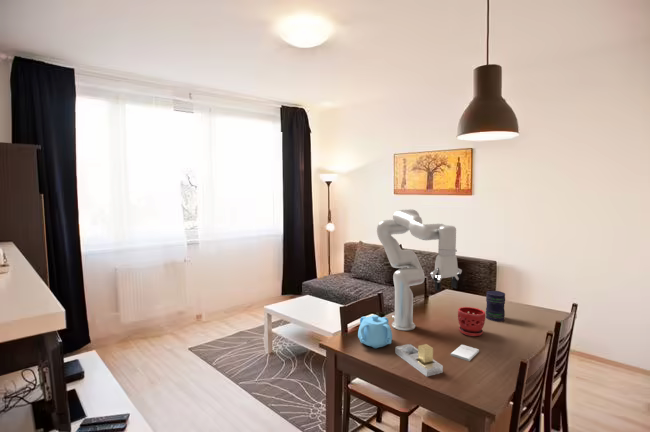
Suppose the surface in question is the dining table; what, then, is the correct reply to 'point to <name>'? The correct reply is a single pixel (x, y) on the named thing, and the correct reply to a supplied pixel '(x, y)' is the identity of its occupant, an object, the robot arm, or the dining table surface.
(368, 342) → the decorative pot
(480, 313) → the plant pot
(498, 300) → the storage jar
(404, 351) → the grey slotted plate
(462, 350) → the external hard drive
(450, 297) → the dining table surface
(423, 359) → the gold rectangular block
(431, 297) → the dining table surface
